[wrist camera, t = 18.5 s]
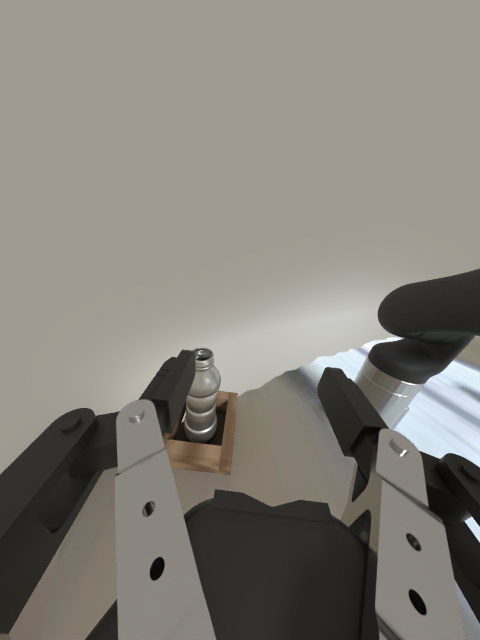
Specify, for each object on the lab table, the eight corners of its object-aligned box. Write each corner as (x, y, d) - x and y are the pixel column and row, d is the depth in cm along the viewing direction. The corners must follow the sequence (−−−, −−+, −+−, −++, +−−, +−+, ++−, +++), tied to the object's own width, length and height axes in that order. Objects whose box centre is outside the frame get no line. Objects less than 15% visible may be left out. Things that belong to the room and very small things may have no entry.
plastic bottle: (194, 412, 39) (193, 339, 31) (221, 423, 38) (228, 348, 29) (177, 440, 34) (169, 360, 25) (208, 454, 32) (212, 373, 24)
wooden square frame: (235, 406, 42) (237, 393, 40) (229, 474, 30) (231, 460, 28) (181, 399, 42) (180, 386, 40) (153, 465, 30) (149, 450, 28)
